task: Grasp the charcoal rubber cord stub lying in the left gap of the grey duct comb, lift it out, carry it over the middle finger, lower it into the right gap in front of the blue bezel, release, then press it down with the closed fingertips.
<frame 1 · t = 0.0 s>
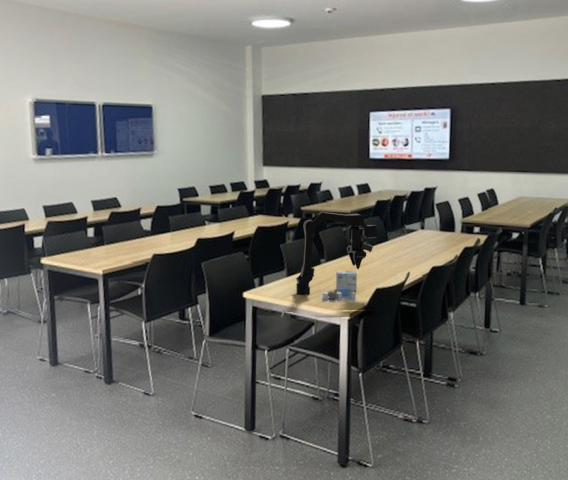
hand: (355, 267, 316), 15 cm above the table, fingers open, 9 cm apart
duct comb: (338, 300, 305), on the table
light bulb box: (346, 291, 325), on the table
cord stub: (332, 298, 305), point 1 cm above the table, touching duct comb
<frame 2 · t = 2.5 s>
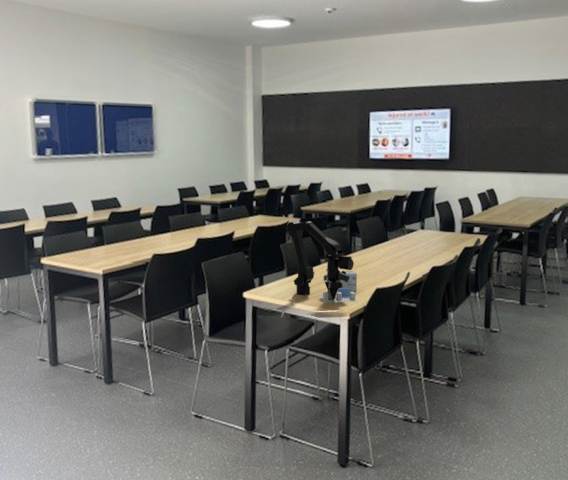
hand: (332, 297, 305), 2 cm above the table, fingers closed on cord stub, 6 cm apart
cord stub: (332, 298, 305), point 1 cm above the table, tilted 21°, touching duct comb, gripper
everything else where it was.
when the fingers open (3 cm above the table, at t = 6.3 s): cord stub drops 1 cm, resting on duct comb.
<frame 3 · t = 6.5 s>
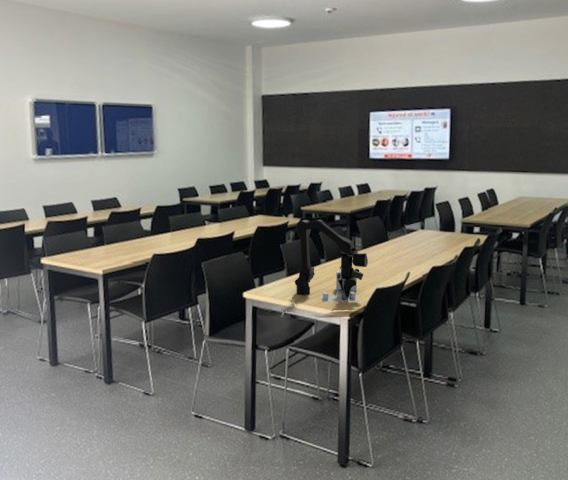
hand: (345, 295, 305), 3 cm above the table, fingers open, 7 cm apart
cord stub: (345, 298, 305), point 1 cm above the table, tilted 23°, touching duct comb
everything else where it was.
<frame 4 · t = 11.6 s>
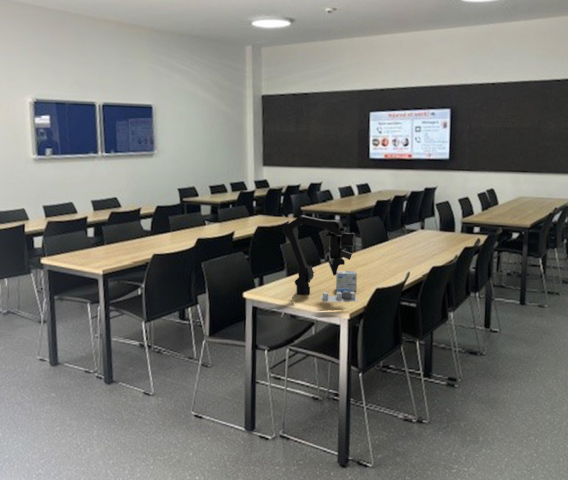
hand: (334, 275, 306), 12 cm above the table, fingers closed
cord stub: (345, 298, 306), point 1 cm above the table, tilted 11°, touching duct comb
everything else where it was.
at the end: cord stub 0.0 cm from the target spot on the duct comb, point 1.0 cm above the duct comb's base; the gripper is holding nothing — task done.
